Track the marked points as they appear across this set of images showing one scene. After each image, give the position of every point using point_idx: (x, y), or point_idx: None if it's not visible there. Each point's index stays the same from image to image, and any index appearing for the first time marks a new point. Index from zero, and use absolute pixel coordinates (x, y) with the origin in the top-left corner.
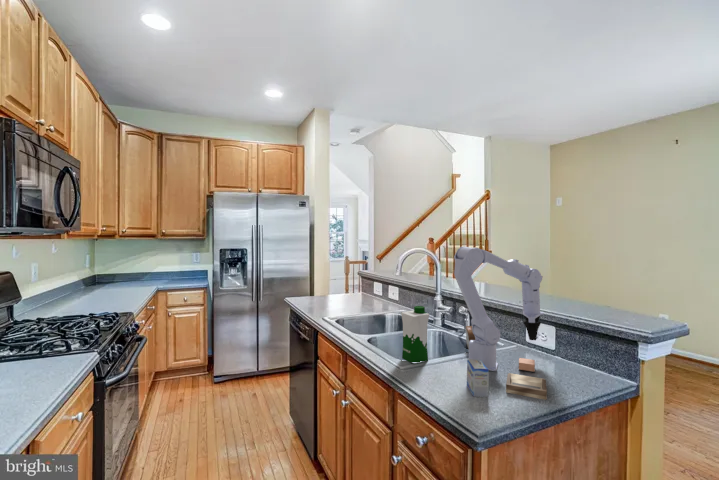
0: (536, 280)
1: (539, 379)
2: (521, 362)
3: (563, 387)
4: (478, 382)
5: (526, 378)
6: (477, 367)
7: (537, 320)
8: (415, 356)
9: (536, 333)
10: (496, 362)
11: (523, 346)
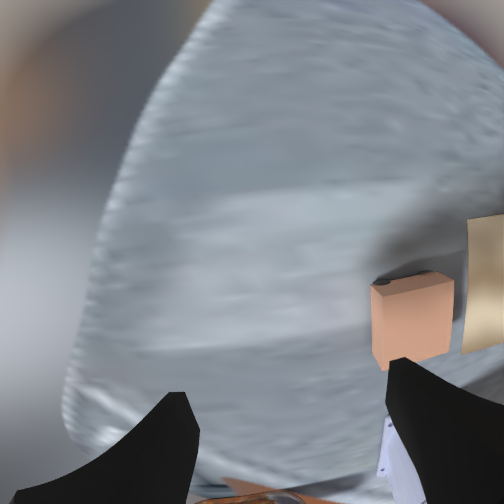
0: None
1: (489, 238)
2: (445, 342)
3: (497, 148)
4: None
5: (501, 284)
6: None
7: (119, 499)
8: None
9: (457, 391)
10: (387, 422)
11: (74, 360)
